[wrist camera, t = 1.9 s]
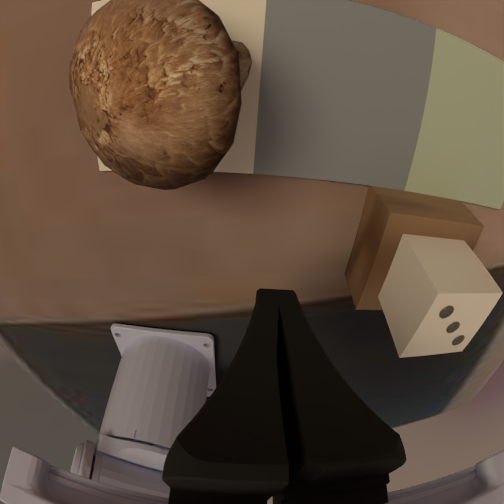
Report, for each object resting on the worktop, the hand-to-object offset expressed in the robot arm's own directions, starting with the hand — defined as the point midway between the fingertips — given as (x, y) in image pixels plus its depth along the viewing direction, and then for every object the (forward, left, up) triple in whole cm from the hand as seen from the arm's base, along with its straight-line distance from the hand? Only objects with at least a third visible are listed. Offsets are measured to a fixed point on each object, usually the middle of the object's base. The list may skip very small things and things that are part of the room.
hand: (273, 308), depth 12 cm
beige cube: (0, -8, -3) cm, 9 cm away
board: (+7, -3, -6) cm, 10 cm away
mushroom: (+7, +5, -6) cm, 11 cm away
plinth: (0, -8, -6) cm, 10 cm away
